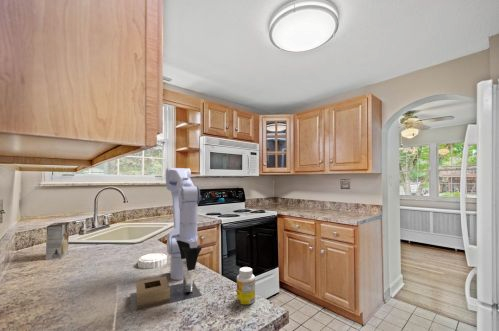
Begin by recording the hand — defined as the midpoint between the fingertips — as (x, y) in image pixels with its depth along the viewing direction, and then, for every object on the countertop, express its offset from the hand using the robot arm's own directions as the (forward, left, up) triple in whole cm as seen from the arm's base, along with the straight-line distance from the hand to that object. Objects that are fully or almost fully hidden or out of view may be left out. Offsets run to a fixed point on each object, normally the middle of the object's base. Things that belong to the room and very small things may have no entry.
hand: (188, 265), depth 76 cm
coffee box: (-70, -48, -10) cm, 86 cm away
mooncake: (-37, -7, -10) cm, 39 cm away
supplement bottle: (+13, +15, -10) cm, 22 cm away
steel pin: (0, 0, -8) cm, 8 cm away
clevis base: (-2, -6, -10) cm, 12 cm away
